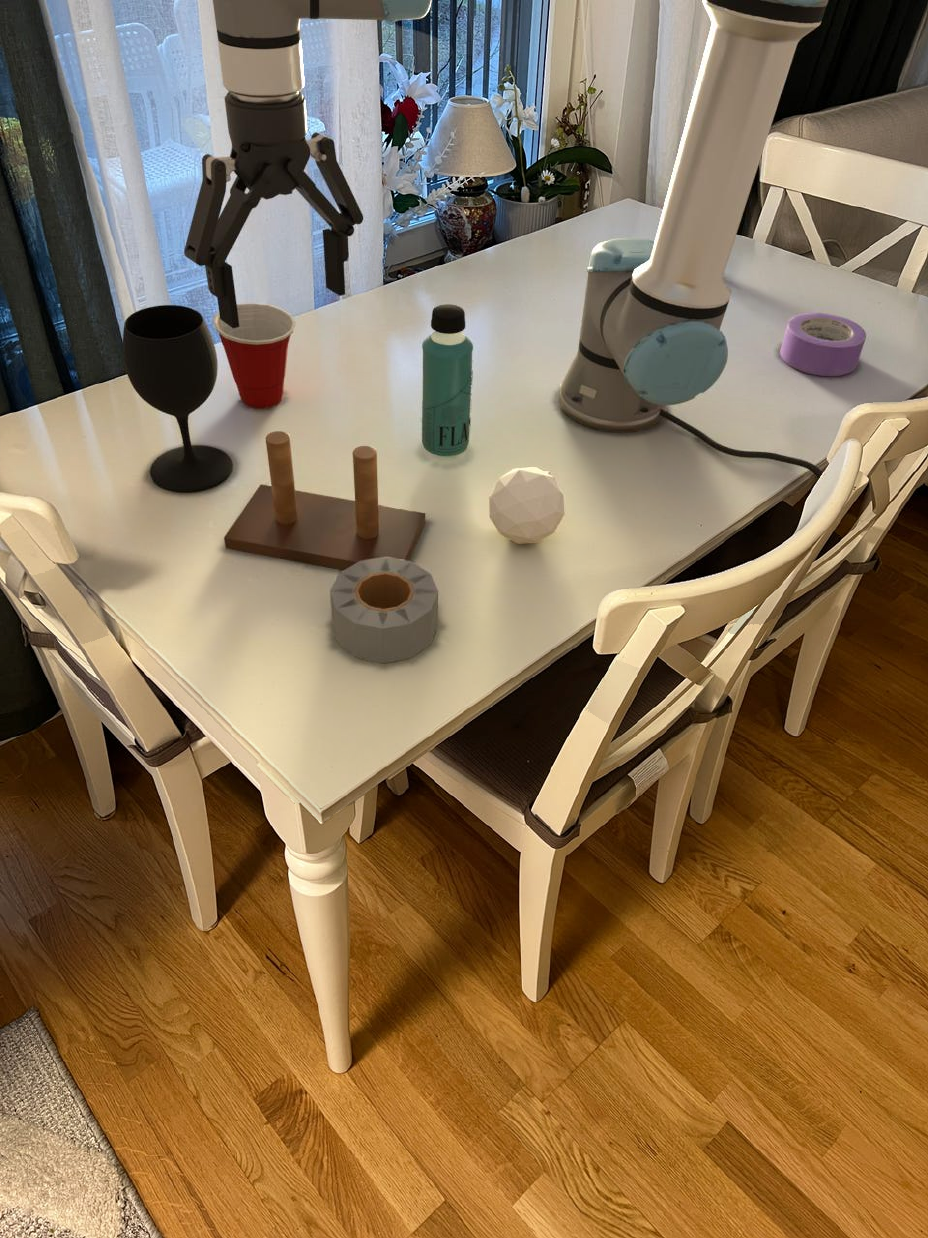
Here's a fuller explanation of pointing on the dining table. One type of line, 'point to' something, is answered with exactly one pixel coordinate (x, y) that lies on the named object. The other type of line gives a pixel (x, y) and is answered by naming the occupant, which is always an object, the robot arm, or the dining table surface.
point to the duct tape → (384, 609)
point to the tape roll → (822, 344)
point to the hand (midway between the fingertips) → (284, 306)
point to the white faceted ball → (526, 505)
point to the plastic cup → (258, 352)
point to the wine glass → (176, 389)
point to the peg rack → (323, 517)
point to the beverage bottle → (446, 383)
